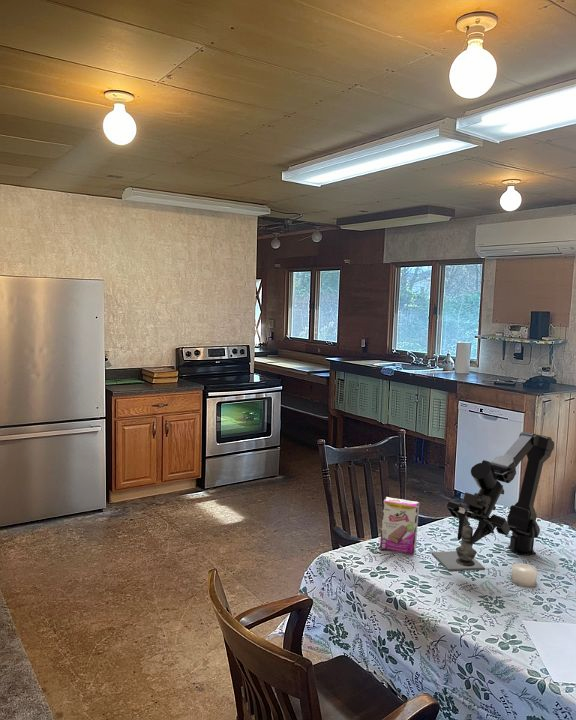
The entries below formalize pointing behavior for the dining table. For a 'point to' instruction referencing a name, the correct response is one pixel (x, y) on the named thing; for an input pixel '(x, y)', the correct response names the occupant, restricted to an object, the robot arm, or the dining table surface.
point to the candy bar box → (399, 525)
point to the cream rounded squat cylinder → (524, 574)
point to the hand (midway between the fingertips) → (464, 541)
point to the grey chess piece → (466, 548)
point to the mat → (450, 561)
